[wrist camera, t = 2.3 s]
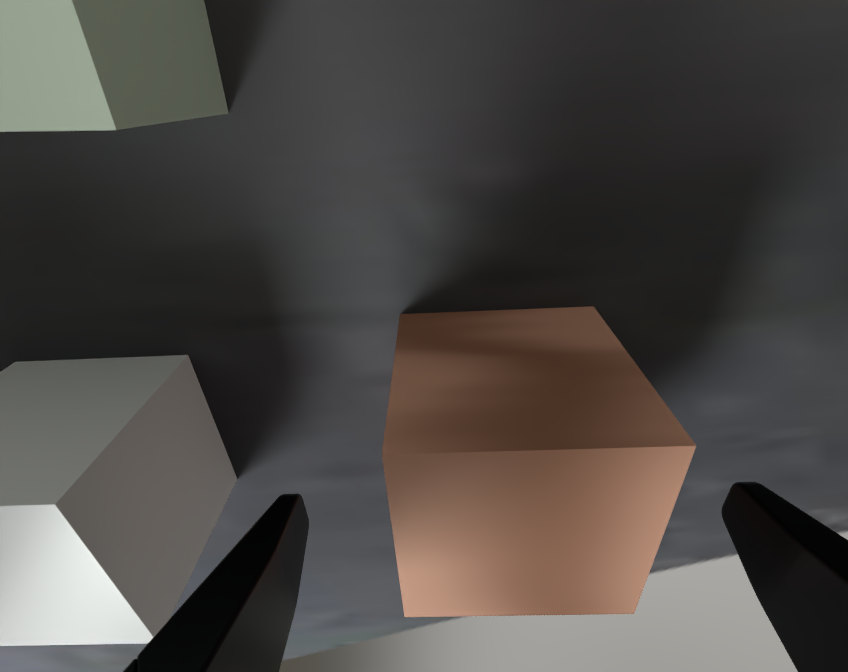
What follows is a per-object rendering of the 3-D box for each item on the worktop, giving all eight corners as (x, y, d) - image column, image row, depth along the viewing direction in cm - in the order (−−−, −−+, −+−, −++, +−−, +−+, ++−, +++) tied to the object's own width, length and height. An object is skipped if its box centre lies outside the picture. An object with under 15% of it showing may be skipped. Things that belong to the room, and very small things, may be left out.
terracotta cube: (412, 450, 14) (404, 617, 9) (400, 312, 11) (382, 454, 7) (569, 445, 14) (634, 614, 9) (592, 305, 11) (696, 445, 7)
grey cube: (95, 481, 15) (-44, 646, 10) (17, 360, 12) (-209, 512, 8) (238, 477, 14) (157, 642, 10) (189, 353, 12) (54, 504, 8)
